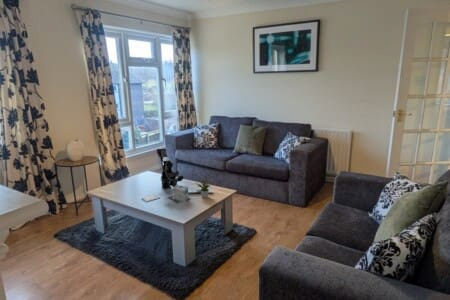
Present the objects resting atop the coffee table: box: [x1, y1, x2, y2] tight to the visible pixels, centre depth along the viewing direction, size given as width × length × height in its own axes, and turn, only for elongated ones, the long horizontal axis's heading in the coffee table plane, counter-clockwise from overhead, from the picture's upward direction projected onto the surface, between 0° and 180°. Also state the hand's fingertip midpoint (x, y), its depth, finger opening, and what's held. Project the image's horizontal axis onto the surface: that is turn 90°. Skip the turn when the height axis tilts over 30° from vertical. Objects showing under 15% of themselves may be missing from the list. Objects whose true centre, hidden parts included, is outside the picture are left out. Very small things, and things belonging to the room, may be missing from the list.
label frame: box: [167, 195, 192, 204], centre depth 242 cm, size 13×15×1 cm
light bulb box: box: [172, 184, 189, 202], centre depth 238 cm, size 11×7×11 cm, turn 70°
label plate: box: [141, 193, 161, 203], centre depth 243 cm, size 12×9×1 cm
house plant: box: [195, 177, 213, 199], centre depth 244 cm, size 14×14×16 cm
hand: (176, 189), depth 243 cm, fingers closed, pressing on light bulb box
